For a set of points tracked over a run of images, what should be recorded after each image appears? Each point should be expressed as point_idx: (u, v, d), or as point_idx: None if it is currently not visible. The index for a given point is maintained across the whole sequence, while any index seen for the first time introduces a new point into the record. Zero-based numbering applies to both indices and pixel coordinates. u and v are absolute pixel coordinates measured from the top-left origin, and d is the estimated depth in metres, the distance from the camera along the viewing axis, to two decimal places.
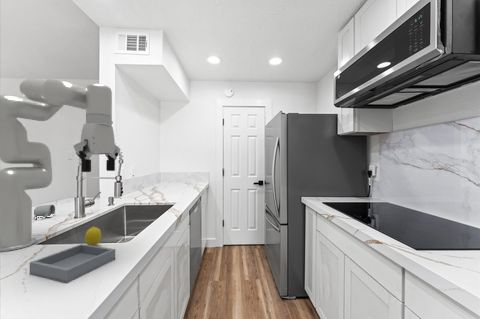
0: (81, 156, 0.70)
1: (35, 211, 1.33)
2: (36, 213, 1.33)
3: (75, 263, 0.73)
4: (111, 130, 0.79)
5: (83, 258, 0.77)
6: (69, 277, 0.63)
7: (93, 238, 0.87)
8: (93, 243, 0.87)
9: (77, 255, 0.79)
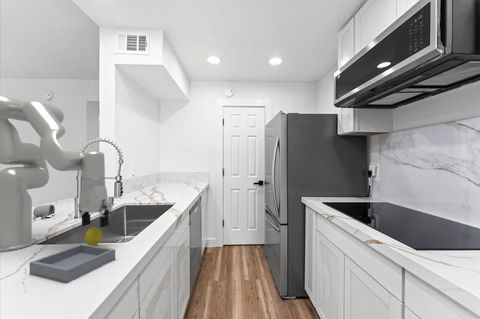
0: (108, 213, 0.87)
1: (34, 211, 1.32)
2: (35, 213, 1.32)
3: (75, 263, 0.73)
4: None
5: (83, 258, 0.77)
6: (69, 277, 0.63)
7: (93, 238, 0.87)
8: (93, 243, 0.87)
9: (77, 255, 0.79)
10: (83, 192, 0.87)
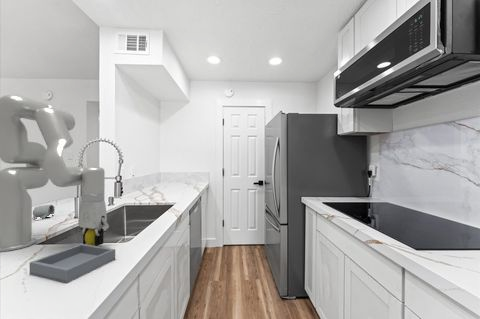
0: (103, 232, 0.88)
1: (34, 211, 1.32)
2: (35, 213, 1.32)
3: (75, 263, 0.73)
4: None
5: (83, 258, 0.77)
6: (69, 277, 0.63)
7: (93, 238, 0.87)
8: (93, 243, 0.87)
9: (77, 255, 0.79)
10: (82, 208, 0.87)
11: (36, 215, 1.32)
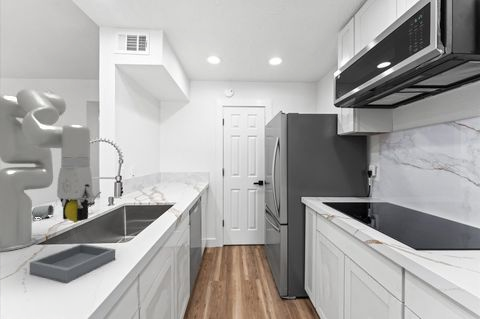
0: (87, 204, 0.72)
1: (33, 212, 1.31)
2: (34, 214, 1.31)
3: (75, 263, 0.73)
4: None
5: (83, 258, 0.77)
6: (69, 277, 0.63)
7: (75, 211, 0.71)
8: (75, 217, 0.71)
9: (77, 255, 0.79)
10: (62, 174, 0.71)
11: (35, 215, 1.31)
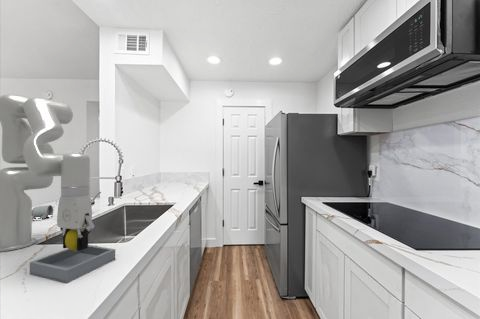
0: (87, 233, 0.71)
1: (33, 212, 1.31)
2: (34, 214, 1.31)
3: (75, 263, 0.73)
4: None
5: (83, 258, 0.77)
6: (69, 277, 0.63)
7: (75, 240, 0.70)
8: (75, 247, 0.71)
9: (77, 255, 0.79)
10: (61, 204, 0.71)
11: (35, 216, 1.31)
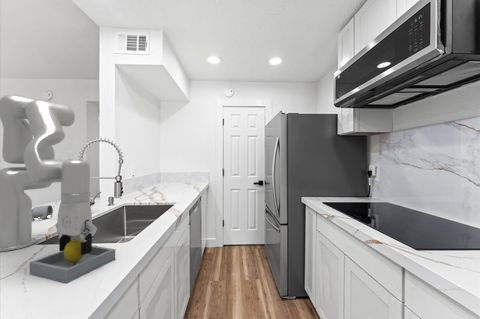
0: (91, 238, 0.71)
1: (32, 212, 1.30)
2: (33, 214, 1.30)
3: (75, 263, 0.73)
4: None
5: (83, 258, 0.77)
6: (69, 277, 0.63)
7: (74, 253, 0.71)
8: (74, 259, 0.71)
9: None
10: (61, 210, 0.71)
11: (34, 216, 1.31)
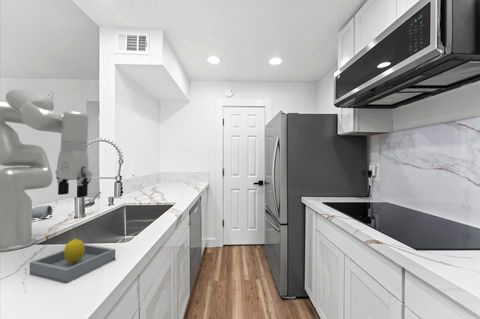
0: (87, 183, 0.77)
1: (32, 212, 1.30)
2: (33, 214, 1.30)
3: (75, 263, 0.73)
4: None
5: (83, 258, 0.77)
6: (69, 277, 0.63)
7: (74, 253, 0.71)
8: (74, 259, 0.71)
9: None
10: (61, 156, 0.78)
11: (34, 216, 1.30)
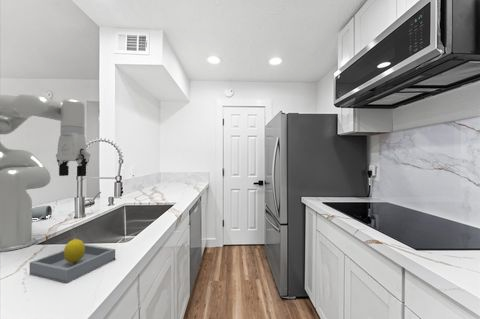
0: (85, 163, 0.86)
1: None
2: (32, 214, 1.29)
3: (75, 263, 0.73)
4: None
5: (83, 258, 0.77)
6: (69, 277, 0.63)
7: (74, 253, 0.71)
8: (74, 259, 0.71)
9: None
10: (61, 140, 0.86)
11: (33, 216, 1.30)
